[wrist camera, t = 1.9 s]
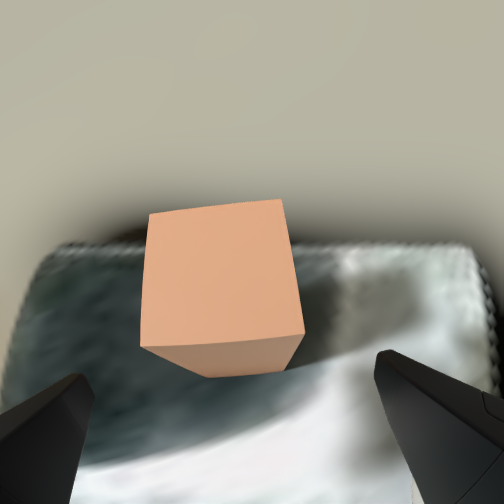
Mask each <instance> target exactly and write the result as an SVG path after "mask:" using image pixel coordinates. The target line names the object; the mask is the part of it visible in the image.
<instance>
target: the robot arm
mask: <svg viewBox="0 0 504 504" xmlns="http://www.w3.org/2000/svg"><path fill="white" fill-rule="evenodd" d="M374 380H375V383H376V386H377V389H378V392H379V395H380V398H381V401H382V404H383V407H384V410H385V413H386V416H387V419H388V421H389V424H390V426H391V428H392V430H393V433H394V435H395V437H396V439H397V441H398V444H399V446H400V448H401V450H402V452H403V455H404V457H405V459H406V462H407V464H408V466H409V468H410V471H411V473H412V476H413V478H414V480H415V483H416V485H417V487H418V490H419V492H420V495H421V497H422V500H423V502H424V504H504V400H503V399H501V398H498V397H496V396H493V395H491V394H488V393H486V392H484V391H482V392H481V390H479V389H477V388H475V387H472V386H470V385H468V384H465V383H463V382H461V381H459V380H457V379H454V378H452V377H450V376H448V375H445V374H443V373H441V372H439V371H437V370H434V369H432V368H430V367H428V366H426V365H424V364H421V363H419V362H417V361H415V360H413V359H411V358H409V357H406V356H404V355H402V354H400V353H398V352H396V351H394V350H391V349H389V350H385V351H380V352H379V353H378V354H377V357H376V363H375V369H374ZM93 403H94V392H93V390H92V388H91V386H90V384H89V382H88V380H87V378H86V376H85V375H84V374H82V373H71V374H70V375H68V376H66V377H64V378H63V379H61V380H59V381H58V382H56V383H54V384H53V385H51V386H49V387H47V388H46V389H44V390H42V391H41V392H39V393H37V394H35V395H34V396H32V397H30V398H29V399H27V400H25V401H23V402H22V403H20V404H18V405H16V406H15V407H13V408H11V409H10V410H8V411H6V412H4V413H3V414H1V415H0V504H69V502H70V498H71V493H72V489H73V485H74V481H75V477H76V473H77V469H78V465H79V462H80V458H81V454H82V451H83V447H84V444H85V441H86V437H87V432H88V428H89V422H90V417H91V413H92V408H93Z"/></svg>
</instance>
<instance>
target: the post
mask: <svg viewBox="0 0 504 504" xmlns="http://www.w3.org/2000/svg"><path fill="white" fill-rule="evenodd" d="M304 335H305V329H304V322H303V316H302V310H301V304H300V298H299V292H298V286H297V280H296V274H295V269H294V263H293V257H292V252H291V247H290V241H289V236H288V231H287V225H286V220H285V215H284V210H283V205H282V200H281V199H273V200H263V201H252V202H242V203H233V204H224V205H216V206H208V207H199V208H191V209H183V210H176V211H169V212H162V213H155V214H150V217H149V225H148V233H147V242H146V252H145V262H144V275H143V289H142V308H141V341H140V346H141V347H143V348H145V349H147V350H149V351H151V352H153V353H155V354H157V355H159V356H161V357H163V358H165V359H167V360H169V361H171V362H173V363H175V364H177V365H180V366H182V367H184V368H186V369H188V370H191V371H193V372H195V373H197V374H200V375H202V376H204V377H207V378H212V377H229V376H242V375H253V374H263V373H272V372H280V371H284V369H285V368H286V366H287V364H288V363H289V361H290V359H291V358H292V356H293V354H294V352H295V351H296V349H297V347H298V345H299V344H300V342H301V340H302V338H303V337H304Z"/></svg>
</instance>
